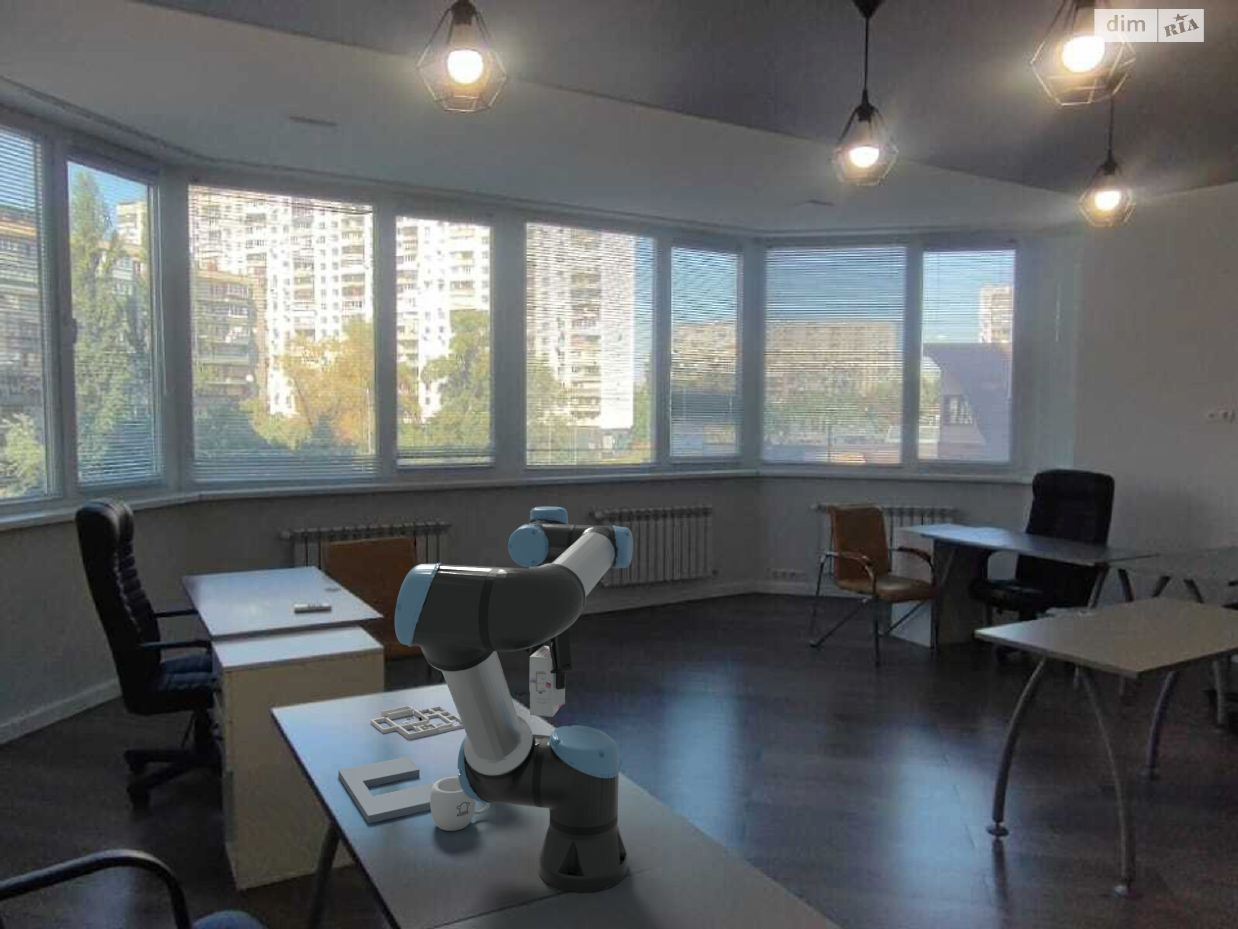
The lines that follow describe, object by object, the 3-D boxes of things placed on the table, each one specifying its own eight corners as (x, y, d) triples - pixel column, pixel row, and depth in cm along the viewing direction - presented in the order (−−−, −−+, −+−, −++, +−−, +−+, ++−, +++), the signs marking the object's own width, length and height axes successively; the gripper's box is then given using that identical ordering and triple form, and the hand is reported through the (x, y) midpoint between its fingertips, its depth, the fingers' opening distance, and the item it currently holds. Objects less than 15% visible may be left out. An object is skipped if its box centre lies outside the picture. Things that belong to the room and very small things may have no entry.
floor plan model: (342, 726, 213) (342, 718, 213) (435, 707, 228) (435, 700, 228) (370, 750, 198) (370, 742, 198) (468, 728, 213) (468, 720, 213)
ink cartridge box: (541, 701, 176) (542, 630, 175) (564, 703, 175) (565, 632, 174) (528, 715, 167) (529, 640, 167) (552, 717, 166) (553, 642, 166)
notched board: (445, 806, 170) (445, 798, 170) (368, 823, 162) (368, 815, 162) (408, 763, 190) (408, 756, 190) (338, 776, 183) (338, 770, 182)
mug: (439, 839, 156) (439, 797, 156) (423, 820, 164) (423, 780, 163) (500, 824, 163) (500, 783, 162) (482, 806, 170) (483, 767, 169)
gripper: (591, 593, 162) (589, 710, 163) (541, 574, 181) (540, 680, 182) (555, 597, 159) (554, 717, 160) (508, 577, 177) (507, 685, 178)
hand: (546, 697), depth 171 cm, fingers closed on ink cartridge box, 9 cm apart
